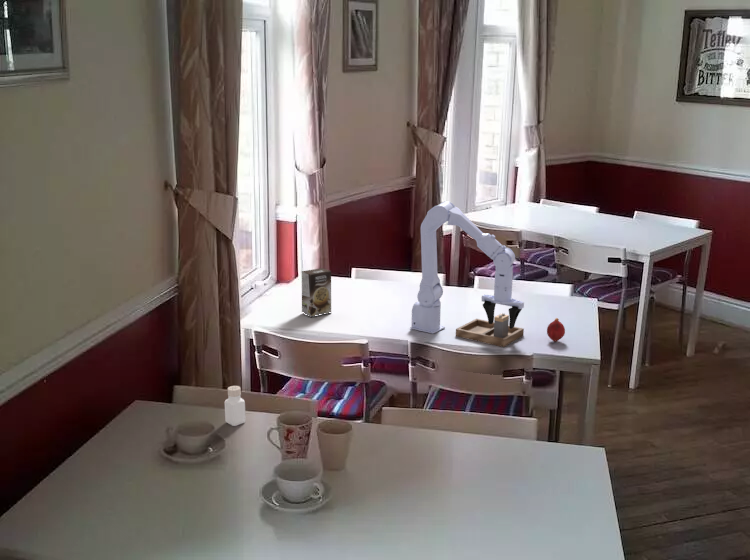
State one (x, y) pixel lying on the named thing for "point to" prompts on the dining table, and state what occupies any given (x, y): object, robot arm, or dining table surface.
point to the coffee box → (316, 291)
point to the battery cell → (501, 325)
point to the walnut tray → (487, 333)
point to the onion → (555, 330)
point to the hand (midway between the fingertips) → (501, 325)
